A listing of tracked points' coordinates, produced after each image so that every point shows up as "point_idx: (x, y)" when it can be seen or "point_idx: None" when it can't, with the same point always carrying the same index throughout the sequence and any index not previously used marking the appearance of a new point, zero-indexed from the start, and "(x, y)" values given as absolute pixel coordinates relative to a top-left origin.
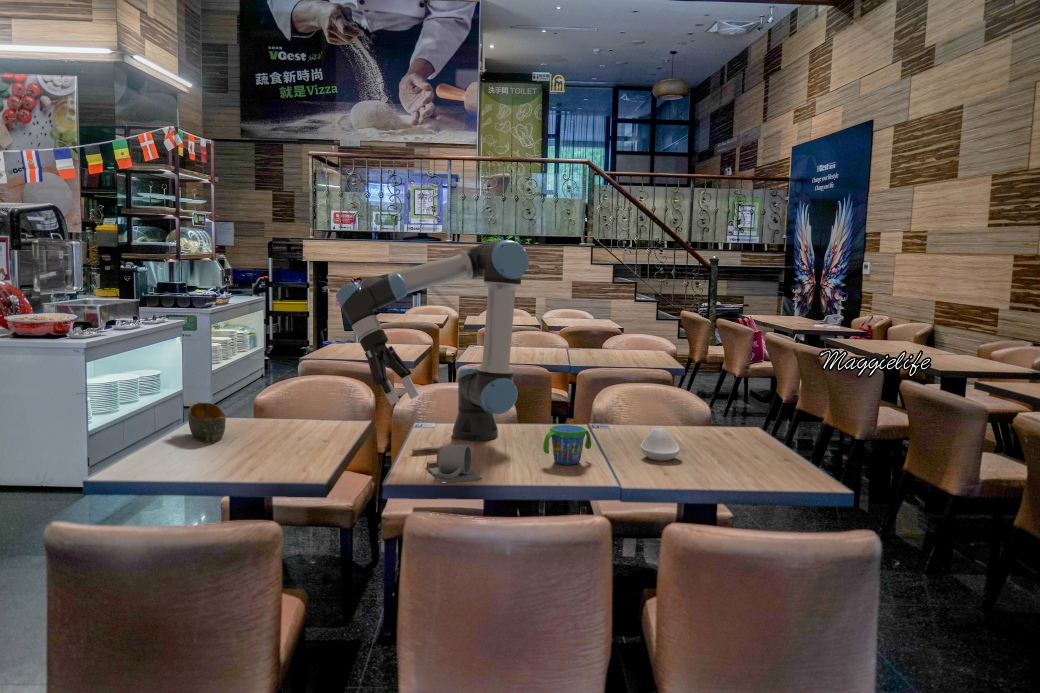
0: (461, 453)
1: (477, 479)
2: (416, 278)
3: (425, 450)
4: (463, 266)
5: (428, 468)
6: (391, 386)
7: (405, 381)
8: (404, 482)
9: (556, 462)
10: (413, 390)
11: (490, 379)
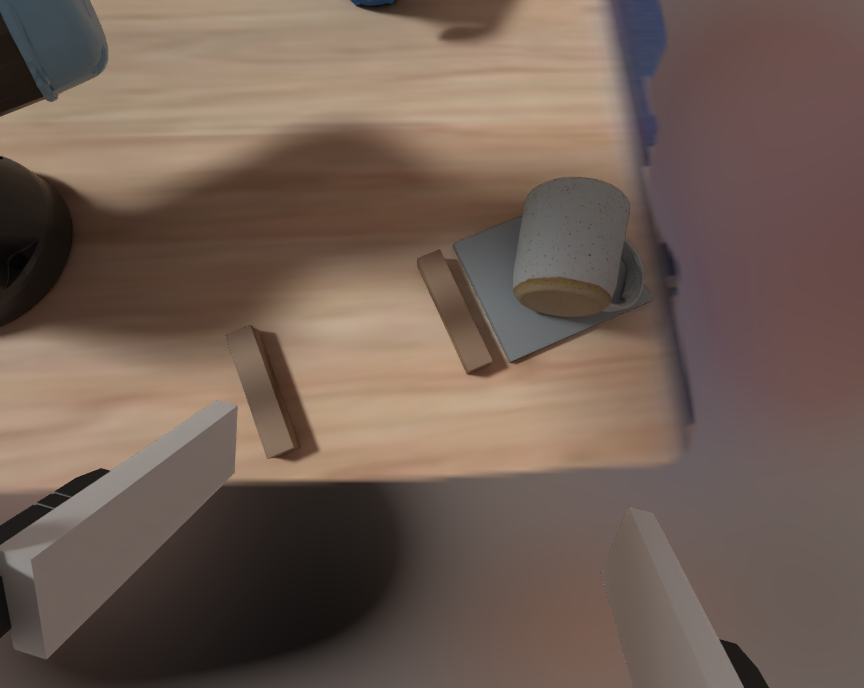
0: (627, 207)
1: None
2: None
3: (279, 403)
4: None
5: (510, 361)
6: (724, 660)
7: (97, 569)
8: (661, 421)
9: (391, 2)
10: (199, 452)
11: None
